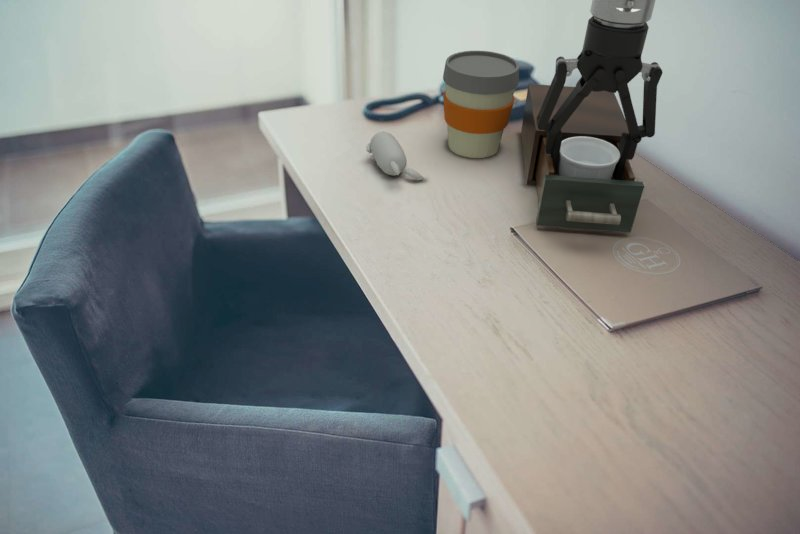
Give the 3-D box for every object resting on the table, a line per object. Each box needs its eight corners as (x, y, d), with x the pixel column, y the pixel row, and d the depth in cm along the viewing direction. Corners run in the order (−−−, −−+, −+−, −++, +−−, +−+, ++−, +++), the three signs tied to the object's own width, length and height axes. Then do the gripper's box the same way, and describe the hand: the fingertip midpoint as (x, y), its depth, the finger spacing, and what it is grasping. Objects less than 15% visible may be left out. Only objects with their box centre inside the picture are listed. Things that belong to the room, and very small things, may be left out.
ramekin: (613, 195, 92) (620, 168, 89) (550, 185, 93) (555, 159, 91) (613, 166, 98) (620, 140, 96) (555, 158, 100) (560, 132, 97)
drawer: (636, 250, 89) (651, 202, 84) (538, 242, 90) (548, 194, 85) (611, 173, 106) (622, 129, 101) (529, 167, 107) (536, 123, 102)
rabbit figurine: (357, 139, 107) (381, 183, 100) (381, 119, 106) (406, 162, 99) (378, 158, 112) (402, 202, 105) (401, 139, 111) (427, 182, 103)
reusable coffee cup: (522, 146, 115) (536, 64, 105) (479, 170, 107) (489, 84, 98) (467, 124, 121) (475, 44, 112) (423, 145, 114) (428, 62, 105)
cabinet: (617, 191, 103) (632, 136, 97) (526, 184, 104) (535, 130, 98) (600, 139, 118) (612, 89, 112) (520, 133, 119) (528, 83, 113)
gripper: (536, 23, 80) (511, 182, 93) (714, 33, 78) (662, 193, 92) (532, 6, 85) (509, 157, 99) (698, 15, 84) (651, 167, 98)
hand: (583, 174), depth 96 cm, fingers closed on ramekin, 9 cm apart
